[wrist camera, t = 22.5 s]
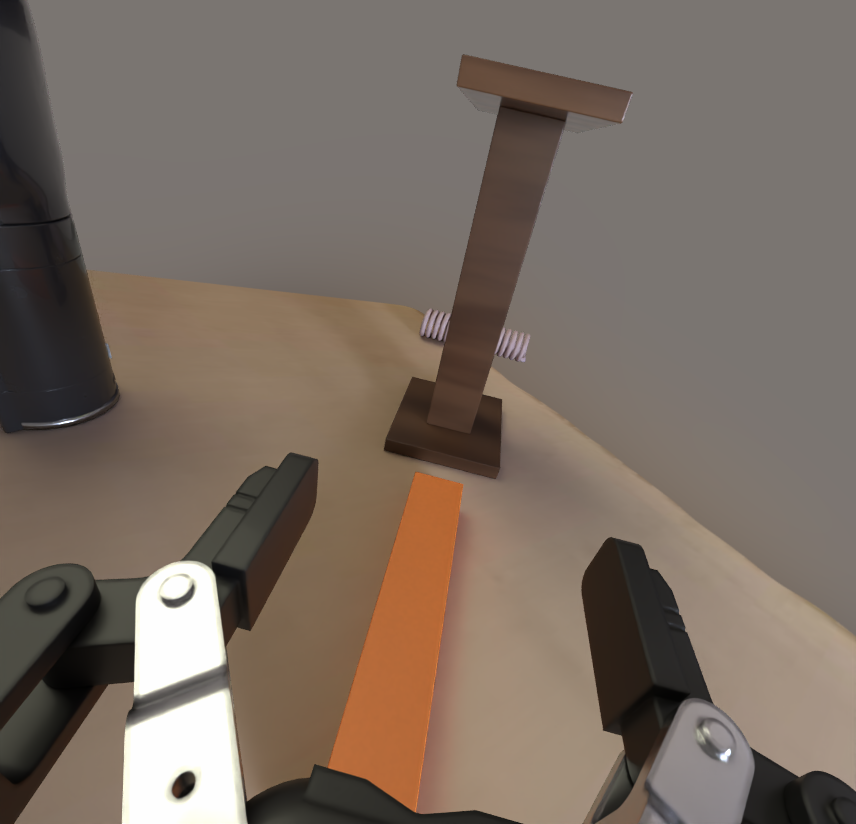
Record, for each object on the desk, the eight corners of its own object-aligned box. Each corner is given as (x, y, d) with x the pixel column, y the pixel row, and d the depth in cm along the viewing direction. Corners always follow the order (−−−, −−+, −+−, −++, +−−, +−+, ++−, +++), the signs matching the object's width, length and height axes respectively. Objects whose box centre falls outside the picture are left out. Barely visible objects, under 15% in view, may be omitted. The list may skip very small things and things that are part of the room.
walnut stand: (495, 495, 41) (651, 96, 24) (377, 465, 42) (445, 50, 24) (499, 399, 57) (594, 116, 40) (413, 377, 57) (470, 88, 40)
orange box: (391, 920, 18) (401, 909, 16) (293, 891, 18) (294, 876, 17) (455, 507, 39) (463, 483, 37) (410, 495, 39) (415, 471, 37)
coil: (533, 331, 68) (427, 304, 70) (534, 339, 64) (421, 310, 66) (524, 358, 71) (421, 330, 72) (525, 367, 66) (416, 338, 68)
